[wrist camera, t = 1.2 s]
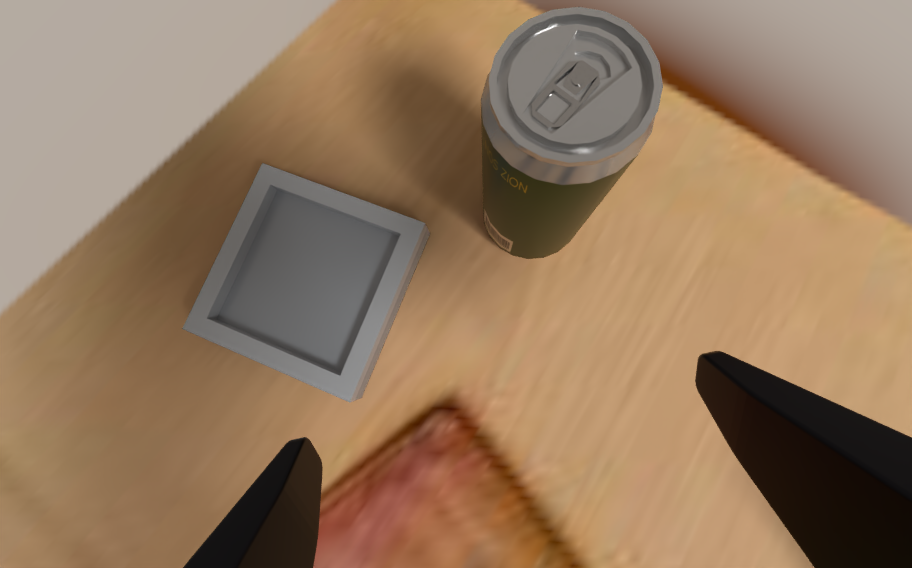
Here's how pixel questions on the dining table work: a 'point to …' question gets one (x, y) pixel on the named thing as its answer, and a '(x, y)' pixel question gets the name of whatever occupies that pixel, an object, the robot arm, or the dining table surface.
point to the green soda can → (562, 124)
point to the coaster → (309, 282)
